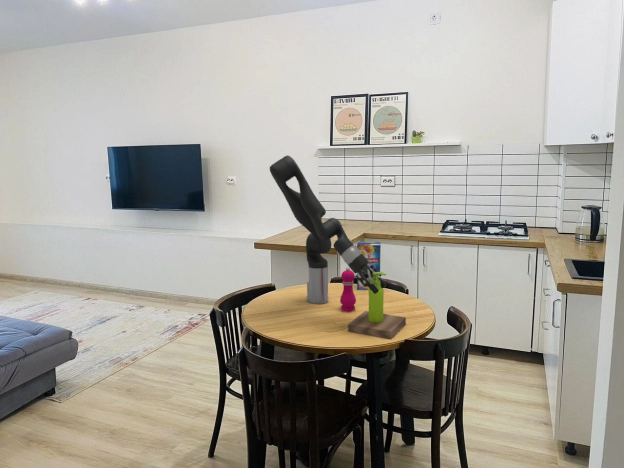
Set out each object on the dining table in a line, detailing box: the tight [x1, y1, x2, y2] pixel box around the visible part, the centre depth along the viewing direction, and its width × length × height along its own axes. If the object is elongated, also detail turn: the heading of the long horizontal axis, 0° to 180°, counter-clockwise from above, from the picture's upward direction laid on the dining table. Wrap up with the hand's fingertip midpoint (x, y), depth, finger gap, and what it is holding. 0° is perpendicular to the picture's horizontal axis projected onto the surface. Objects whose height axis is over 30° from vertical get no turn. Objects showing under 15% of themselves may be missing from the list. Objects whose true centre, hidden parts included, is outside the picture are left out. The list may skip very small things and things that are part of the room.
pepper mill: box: [339, 266, 357, 313], centre depth 211 cm, size 7×7×20 cm
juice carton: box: [356, 241, 382, 291], centre depth 245 cm, size 12×8×24 cm, turn 83°
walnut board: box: [347, 310, 407, 340], centre depth 190 cm, size 18×18×3 cm
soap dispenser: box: [368, 271, 387, 323], centre depth 188 cm, size 6×7×20 cm
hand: (380, 289), depth 187 cm, fingers open, 8 cm apart
